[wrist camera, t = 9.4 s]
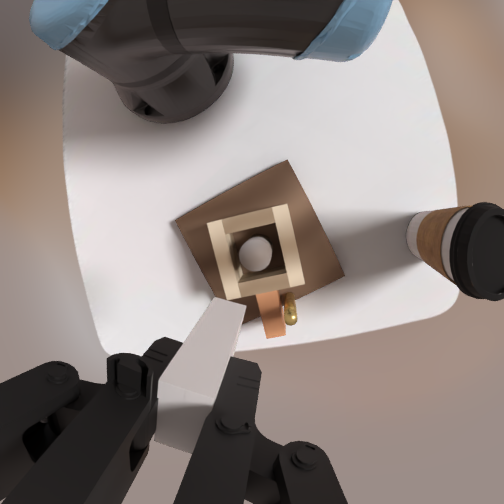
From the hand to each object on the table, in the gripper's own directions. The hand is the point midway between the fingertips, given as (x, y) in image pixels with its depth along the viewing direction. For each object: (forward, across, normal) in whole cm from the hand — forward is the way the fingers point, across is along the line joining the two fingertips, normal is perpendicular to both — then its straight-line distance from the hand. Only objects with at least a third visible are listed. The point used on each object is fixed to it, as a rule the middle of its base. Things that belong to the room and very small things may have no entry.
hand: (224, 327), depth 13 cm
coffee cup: (+21, +20, +7) cm, 30 cm away
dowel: (+20, +5, -4) cm, 21 cm away
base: (+21, 0, 0) cm, 21 cm away
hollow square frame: (+20, +1, -2) cm, 20 cm away
